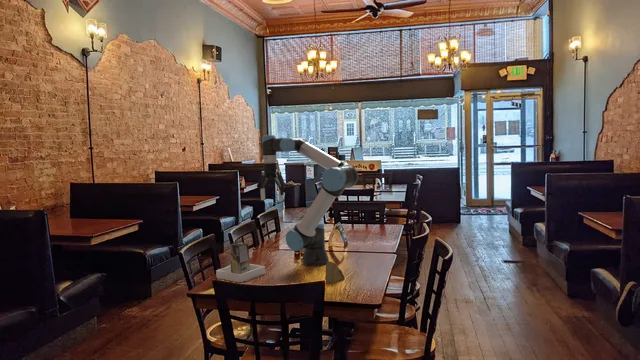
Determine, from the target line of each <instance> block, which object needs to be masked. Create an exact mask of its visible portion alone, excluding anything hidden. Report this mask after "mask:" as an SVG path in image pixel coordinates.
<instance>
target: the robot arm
mask: <svg viewBox="0 0 640 360" xmlns="http://www.w3.org/2000/svg"><path fill="white" fill-rule="evenodd" d="M261 146H262V148H261V149H262V161H263V162H262V163H263V170H262V171H260V173H259V177H258V181H257V184H256V188H257V189H259V194H260V201H265V200H266V188H265V186H266V184H267V182H268V181H269V180H273V181H274V183H275V184H276V186H277V187H278V202H283V201H284V195H285V193H284V189H286V188H287V185H286V182H285V180H284V178H283V175H282V171H277V170H278V164H277V162H278V159H277V153H289V152H297V153H298V154H300V155H302V156H304V157H305V158H307V159H308V160H310V161H311V162H314V163H315V164H317V165H318V166H320V167H321V168H324V169H325V170H324V172H323V174H322V176H321V184H320V187H321V189H320V191H319V192H318V194H317V196H316V197H315V199H314V200H313V201H312V203H311V204H310V207H308V209H307V211H306V213H305V214H304V216H303V218H302V219H301V220H299V221H297V222H296V224H295V225H294V227H293V228H292V229H289V230H288V231H287V232H286V233H285V238H284V239H285V242H286V245H287V247H288V248H289V249H290V250H291V251H293V252H299V251H302V250H304V251H303V255H302V258H301V261H302V264H303V265H305V266H313V267H314V266H323V265H326V262H328V261H330V260H329V256H328V253H327V250H326V242H325V225H324V223H323V222H321V221H322V219H323V218H324V216H325V214H326V213H327V212H328V210H329V209H330V207H331V205H332V204H333V202H334V201H335V199H336V198H340V197H341V195H342V194H343V192H344V191H345V190H346V189H349V188H352V187H354V186H355V185H356V184H357V182H358V179H359V173H358V170H357V169H356V168H355V167H354V166H353V165H352V164H350V163H348V162H346V161H343V160H342V161H340V160H339V159H337V158H336V157H333V156H331V155H330V154H328V153H326V152H325V151H323V150H321V149H319V148H318V147H316V146H314V145H312V144H311V143H309V142H308V141H307V139H306V138H305V137H301V136H297V137H278V138H276V135H274V134H267V135H265V134H264V135H263V136H261Z"/></svg>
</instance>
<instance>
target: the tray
mask: <svg viewBox="0 0 640 360" xmlns="http://www.w3.org/2000/svg"><path fill="white" fill-rule="evenodd" d="M249 264H250V271H248V272H246V273H243V274H236V273H231V265H230V266H226V267H223V268H218V269H217V270H215V272H216V273H215V274H216V279H221V280H224V279H225V281H230V282H234V283H239V282H242V283H244V281H245V282H247V281H250V280H252V279H255V278H258V277H260V276H263V275H266V266H265V265H259V264H253V263H249Z"/></svg>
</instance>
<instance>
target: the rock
mask: <svg viewBox="0 0 640 360" xmlns="http://www.w3.org/2000/svg"><path fill="white" fill-rule="evenodd" d="M324 277H325V278H324V281H325V280H326V283H327V284H332V283H336V282H340V281H343V280H344V279H345V275H344V273H343V271H342V270H341V269H340V268H339V266H338V265H337V263H334V262H333V261H330V260H329V261H328V262H326V264H325V276H324ZM326 283H325V284H326ZM327 284H326V285H327Z"/></svg>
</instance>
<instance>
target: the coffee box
mask: <svg viewBox="0 0 640 360" xmlns="http://www.w3.org/2000/svg"><path fill="white" fill-rule="evenodd" d="M228 246H229V247H228V248H229V249H228V250H229V259H230V261H229V262H230V266H231V273H236V274H243V273H246V272H248V271H250V264H251V263H250V253H249V252H250V251H249V250H250V249H249V244H248V243H245V242H239V241H238V242H232V243H229V245H228Z"/></svg>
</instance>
